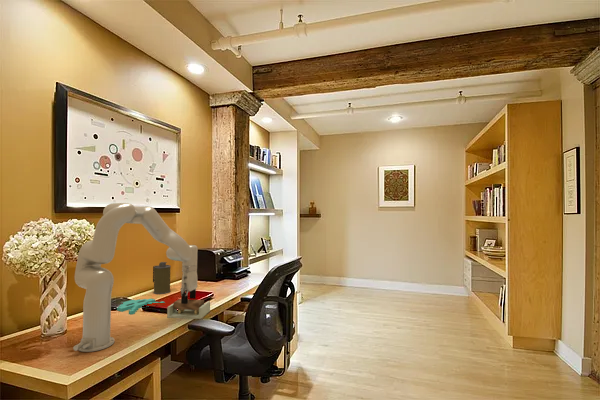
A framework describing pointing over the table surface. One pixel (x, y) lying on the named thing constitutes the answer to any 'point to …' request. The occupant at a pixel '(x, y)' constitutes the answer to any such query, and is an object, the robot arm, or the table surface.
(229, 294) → the table surface
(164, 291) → the canister
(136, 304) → the alien figure
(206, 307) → the peg frame
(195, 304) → the brown wooden block
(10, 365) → the table surface
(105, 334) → the robot arm
